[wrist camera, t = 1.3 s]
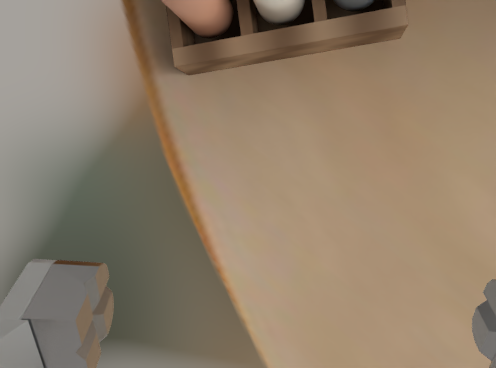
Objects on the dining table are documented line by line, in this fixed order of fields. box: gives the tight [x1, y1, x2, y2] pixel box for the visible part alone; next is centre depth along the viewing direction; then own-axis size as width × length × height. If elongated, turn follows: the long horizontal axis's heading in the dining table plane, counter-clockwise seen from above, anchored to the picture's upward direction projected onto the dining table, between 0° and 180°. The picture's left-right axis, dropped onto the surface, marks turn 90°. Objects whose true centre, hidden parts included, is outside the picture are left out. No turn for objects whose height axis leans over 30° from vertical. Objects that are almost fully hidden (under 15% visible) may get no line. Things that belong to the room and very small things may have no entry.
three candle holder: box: [166, 0, 408, 75], centre depth 38 cm, size 19×8×4 cm, turn 98°
